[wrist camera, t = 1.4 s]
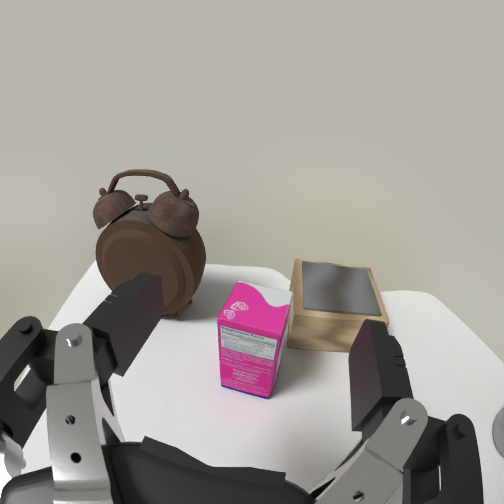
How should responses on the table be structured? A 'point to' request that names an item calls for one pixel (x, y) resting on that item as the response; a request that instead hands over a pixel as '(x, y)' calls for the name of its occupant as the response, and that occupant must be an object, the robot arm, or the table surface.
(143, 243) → the alarm clock
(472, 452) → the robot arm
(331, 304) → the pedestal
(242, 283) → the supplement box
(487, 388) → the table surface
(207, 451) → the table surface
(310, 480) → the table surface
